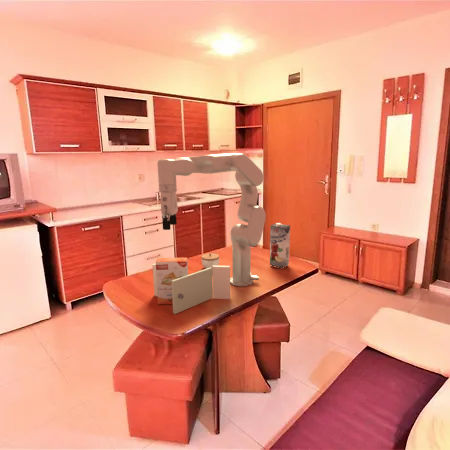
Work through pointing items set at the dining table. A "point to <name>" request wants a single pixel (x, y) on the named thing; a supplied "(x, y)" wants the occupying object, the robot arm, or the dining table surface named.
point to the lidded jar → (210, 260)
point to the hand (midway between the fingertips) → (170, 227)
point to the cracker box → (169, 276)
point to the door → (192, 290)
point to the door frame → (219, 281)
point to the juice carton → (279, 245)
